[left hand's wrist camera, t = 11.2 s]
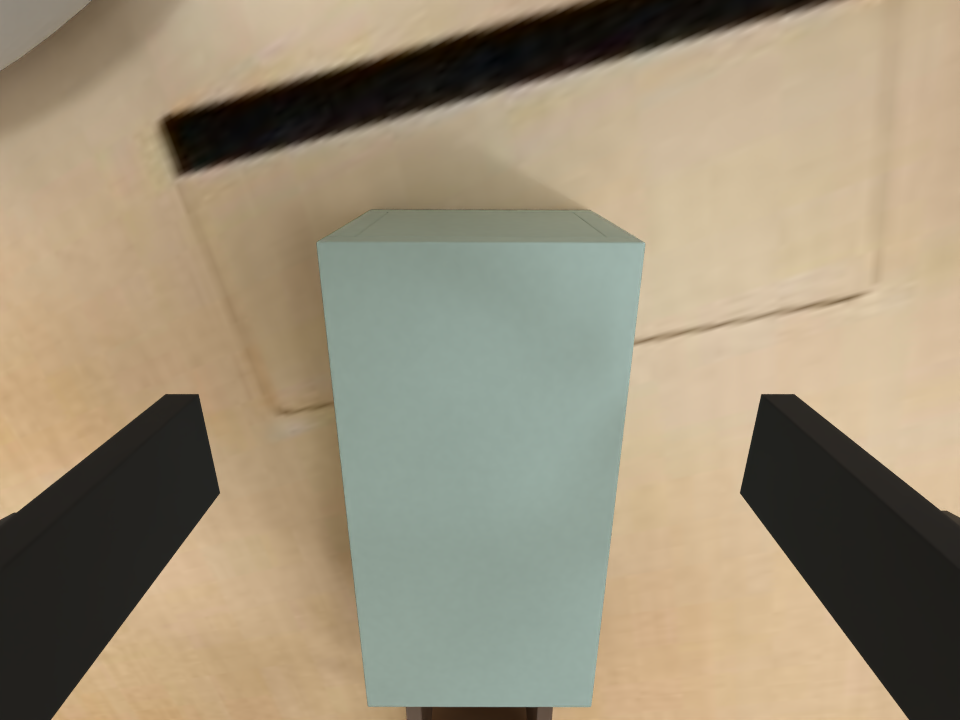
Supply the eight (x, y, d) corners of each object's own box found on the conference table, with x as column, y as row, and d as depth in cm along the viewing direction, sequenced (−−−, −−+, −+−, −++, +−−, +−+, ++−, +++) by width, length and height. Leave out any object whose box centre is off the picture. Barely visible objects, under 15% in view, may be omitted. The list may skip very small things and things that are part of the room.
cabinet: (563, 566, 34) (591, 707, 25) (395, 566, 34) (367, 707, 25) (591, 209, 26) (646, 242, 17) (369, 209, 26) (315, 241, 17)
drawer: (543, 761, 39) (555, 884, 33) (414, 760, 39) (401, 884, 33) (565, 449, 29) (590, 537, 23) (394, 449, 29) (369, 536, 23)
